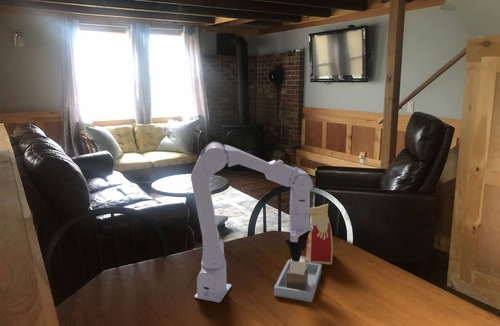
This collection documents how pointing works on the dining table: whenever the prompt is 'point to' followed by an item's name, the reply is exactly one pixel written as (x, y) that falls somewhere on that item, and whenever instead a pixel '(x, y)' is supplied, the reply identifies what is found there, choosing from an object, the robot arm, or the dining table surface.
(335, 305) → the dining table surface
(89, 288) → the dining table surface
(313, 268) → the tote
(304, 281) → the walnut block
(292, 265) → the cream box
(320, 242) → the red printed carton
